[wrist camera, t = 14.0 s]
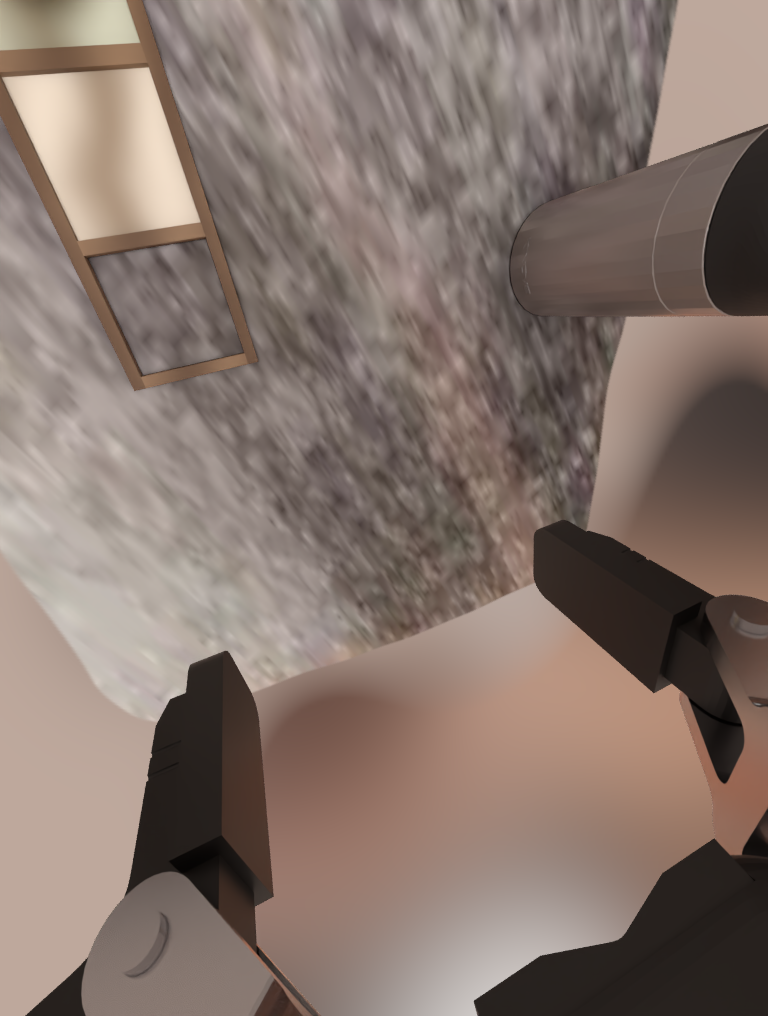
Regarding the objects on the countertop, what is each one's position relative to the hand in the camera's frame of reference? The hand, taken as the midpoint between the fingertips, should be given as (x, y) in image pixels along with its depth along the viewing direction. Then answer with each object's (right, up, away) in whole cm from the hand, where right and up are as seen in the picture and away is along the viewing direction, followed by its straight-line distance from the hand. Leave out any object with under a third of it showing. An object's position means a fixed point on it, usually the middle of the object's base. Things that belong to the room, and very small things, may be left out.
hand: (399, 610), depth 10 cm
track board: (-17, +24, +15) cm, 33 cm away
